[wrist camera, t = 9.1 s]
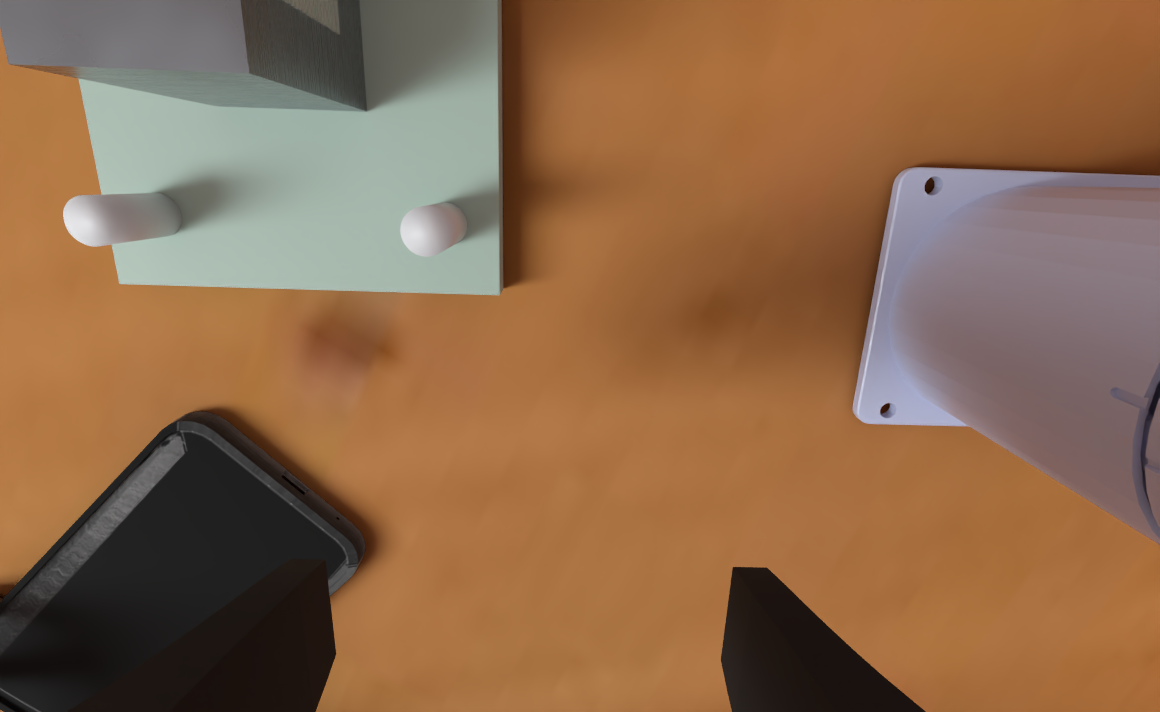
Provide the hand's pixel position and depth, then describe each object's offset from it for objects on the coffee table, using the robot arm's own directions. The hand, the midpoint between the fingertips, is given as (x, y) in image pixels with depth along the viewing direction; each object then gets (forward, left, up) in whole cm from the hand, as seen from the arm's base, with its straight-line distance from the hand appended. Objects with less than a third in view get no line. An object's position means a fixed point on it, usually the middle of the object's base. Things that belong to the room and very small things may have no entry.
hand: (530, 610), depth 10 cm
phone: (+14, +8, -10) cm, 19 cm away
